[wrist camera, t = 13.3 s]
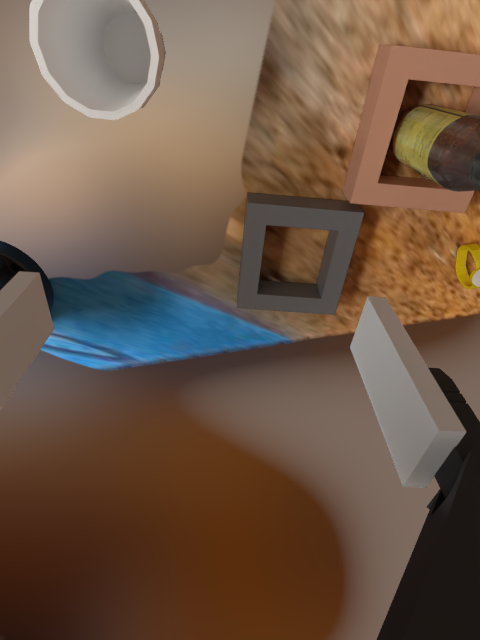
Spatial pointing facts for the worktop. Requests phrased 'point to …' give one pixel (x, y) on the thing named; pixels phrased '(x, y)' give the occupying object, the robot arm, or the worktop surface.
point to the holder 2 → (380, 121)
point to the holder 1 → (301, 214)
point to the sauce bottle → (440, 145)
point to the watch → (476, 278)
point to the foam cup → (98, 53)
